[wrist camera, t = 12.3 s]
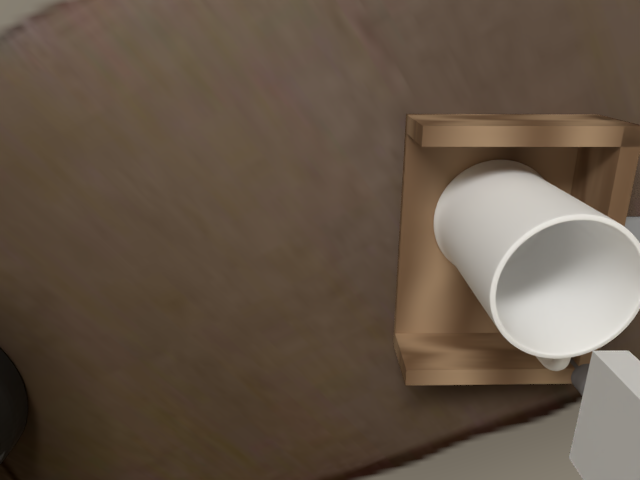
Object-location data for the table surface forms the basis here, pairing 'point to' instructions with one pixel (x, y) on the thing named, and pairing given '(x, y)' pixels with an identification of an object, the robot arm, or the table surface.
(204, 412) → the table surface
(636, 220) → the grey rectangular slab
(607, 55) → the table surface
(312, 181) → the table surface
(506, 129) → the keeper cradle
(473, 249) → the mug
